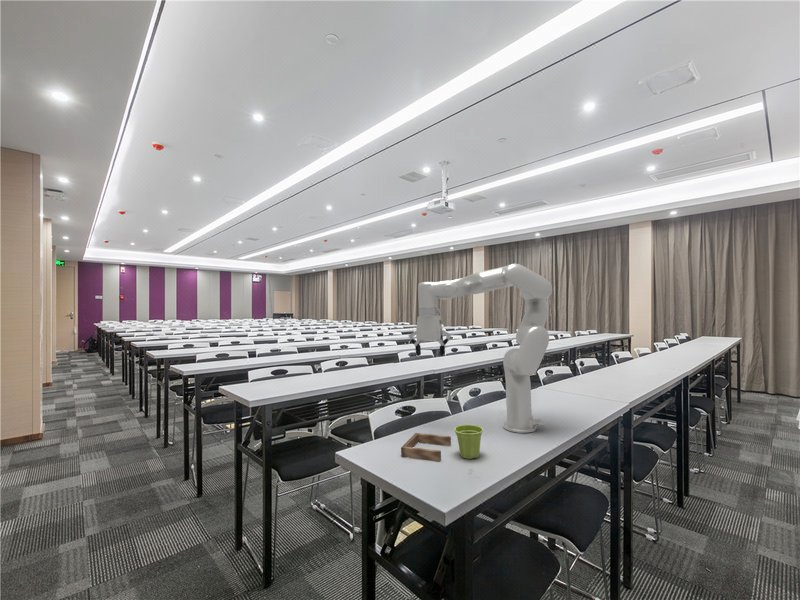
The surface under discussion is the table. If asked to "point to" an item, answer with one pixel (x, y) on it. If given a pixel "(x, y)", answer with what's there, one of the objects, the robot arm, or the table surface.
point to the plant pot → (469, 440)
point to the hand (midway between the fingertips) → (430, 355)
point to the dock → (421, 453)
